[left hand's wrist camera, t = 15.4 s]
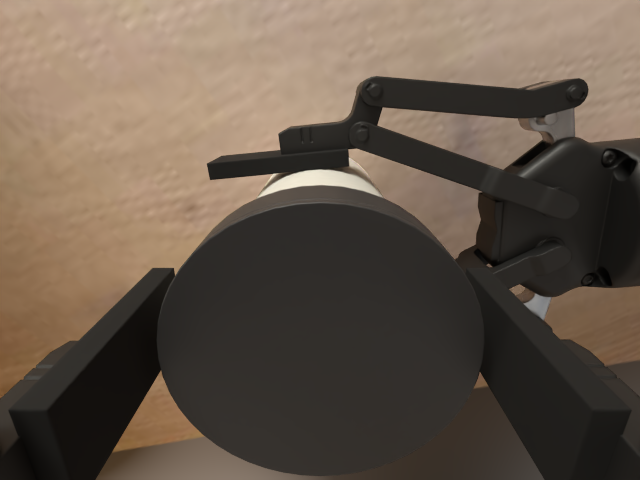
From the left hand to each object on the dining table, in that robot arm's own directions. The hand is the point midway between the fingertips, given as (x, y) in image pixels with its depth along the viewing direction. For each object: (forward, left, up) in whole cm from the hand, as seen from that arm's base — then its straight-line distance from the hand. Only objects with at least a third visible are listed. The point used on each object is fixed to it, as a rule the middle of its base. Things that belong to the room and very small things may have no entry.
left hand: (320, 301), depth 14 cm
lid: (0, 0, +3) cm, 3 cm away
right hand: (-5, 0, -6) cm, 8 cm away
